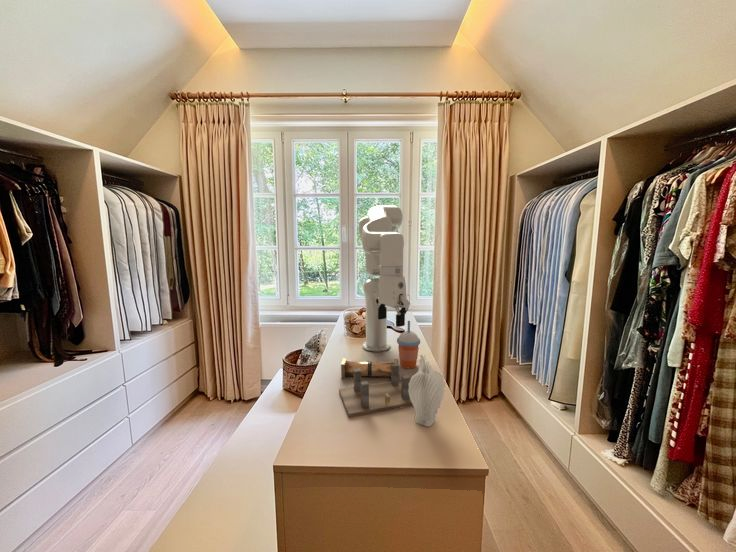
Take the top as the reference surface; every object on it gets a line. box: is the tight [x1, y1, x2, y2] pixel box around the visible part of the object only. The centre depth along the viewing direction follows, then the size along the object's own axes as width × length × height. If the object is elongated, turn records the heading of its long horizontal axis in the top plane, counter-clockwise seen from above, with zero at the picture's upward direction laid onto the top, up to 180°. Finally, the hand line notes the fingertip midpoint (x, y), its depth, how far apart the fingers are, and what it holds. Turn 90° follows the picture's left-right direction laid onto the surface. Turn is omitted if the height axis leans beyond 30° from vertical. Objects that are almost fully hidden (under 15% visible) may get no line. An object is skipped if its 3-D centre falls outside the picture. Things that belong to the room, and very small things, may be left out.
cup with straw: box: [396, 320, 421, 369], centre depth 115 cm, size 9×9×18 cm
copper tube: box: [340, 357, 399, 380], centre depth 108 cm, size 20×6×6 cm, turn 87°
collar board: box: [338, 363, 414, 418], centre depth 93 cm, size 14×24×8 cm, turn 107°
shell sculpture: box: [408, 354, 446, 427], centre depth 80 cm, size 8×8×18 cm
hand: (390, 322), depth 98 cm, fingers open, 9 cm apart
